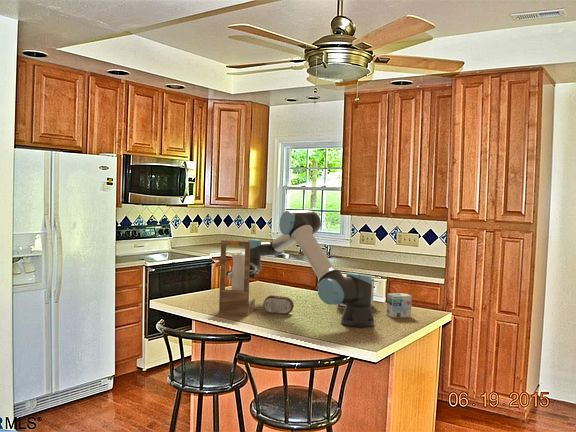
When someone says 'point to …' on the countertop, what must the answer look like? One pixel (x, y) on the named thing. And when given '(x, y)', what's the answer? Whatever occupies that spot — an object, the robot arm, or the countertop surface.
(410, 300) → the light bulb box
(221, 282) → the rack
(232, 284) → the skyscraper
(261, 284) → the countertop surface
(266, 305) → the tin
